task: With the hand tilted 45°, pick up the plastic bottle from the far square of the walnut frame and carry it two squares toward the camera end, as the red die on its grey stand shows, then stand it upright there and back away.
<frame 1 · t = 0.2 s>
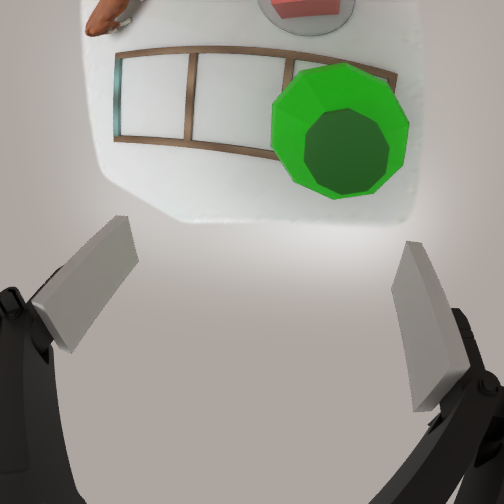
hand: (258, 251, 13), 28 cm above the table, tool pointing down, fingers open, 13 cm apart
bull figurine: (136, 3, 30), on the table
walnut frame: (235, 99, 36), on the table
plastic bottle: (334, 114, 34), resting in walnut frame
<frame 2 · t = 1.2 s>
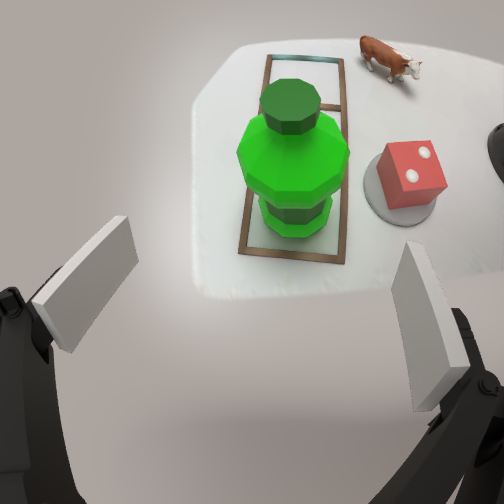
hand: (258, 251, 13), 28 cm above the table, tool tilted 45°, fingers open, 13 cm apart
bull figurine: (385, 75, 46), on the table
red die stand: (399, 188, 41), on the table
walnut frame: (301, 136, 45), on the table
plastic bottle: (295, 211, 43), resting in walnut frame
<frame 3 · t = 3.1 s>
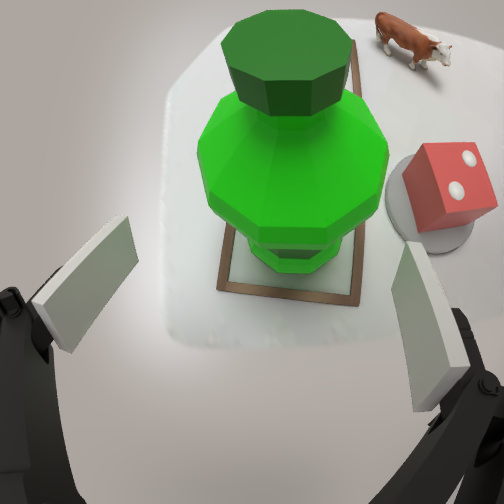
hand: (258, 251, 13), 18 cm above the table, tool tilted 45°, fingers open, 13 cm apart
bull figurine: (406, 62, 35), on the table
red die stand: (430, 203, 30), on the table
walnut frame: (303, 131, 34), on the table
plastic bottle: (295, 233, 32), resting in walnut frame
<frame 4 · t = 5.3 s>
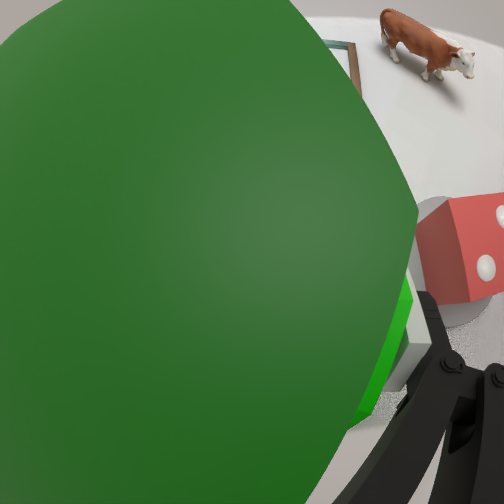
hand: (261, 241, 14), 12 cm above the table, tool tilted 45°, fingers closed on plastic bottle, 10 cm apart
bull figurine: (417, 70, 28), on the table
red die stand: (445, 262, 24), on the table
walnut frame: (288, 168, 28), on the table
plastic bottle: (272, 307, 25), resting in walnut frame, touching gripper
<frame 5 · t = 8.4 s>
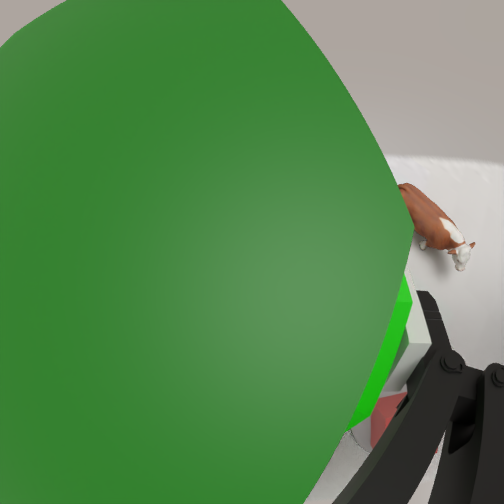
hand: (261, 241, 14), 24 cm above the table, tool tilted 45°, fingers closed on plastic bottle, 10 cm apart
bull figurine: (418, 234, 37), on the table
red die stand: (392, 414, 33), on the table
plastic bottle: (272, 308, 25), point 12 cm above the table, touching gripper
when the fingers open (13 cm above the table, at t = 11.7 s): plastic bottle drops 1 cm, resting in walnut frame.
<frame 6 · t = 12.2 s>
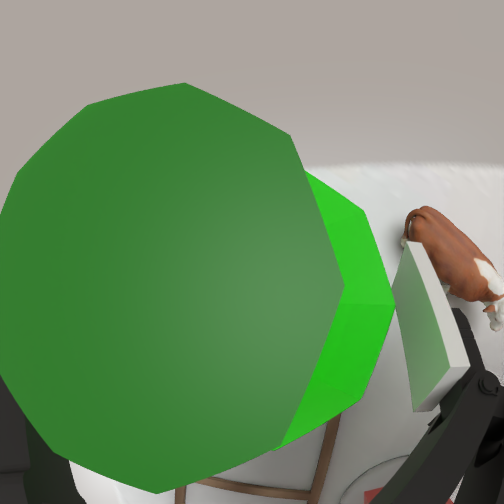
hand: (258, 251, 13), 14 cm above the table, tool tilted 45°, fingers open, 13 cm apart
bull figurine: (437, 275, 25), on the table
red die stand: (391, 498, 20), on the table
walnut frame: (255, 438, 24), on the table
plastic bottle: (273, 309, 27), resting in walnut frame
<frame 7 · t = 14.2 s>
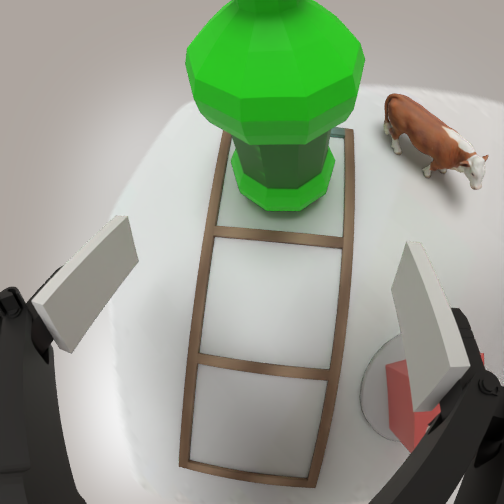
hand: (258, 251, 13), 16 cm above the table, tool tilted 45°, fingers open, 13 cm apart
bull figurine: (419, 162, 30), on the table
red die stand: (413, 385, 25), on the table
walnut frame: (271, 302, 29), on the table
plastic bottle: (284, 180, 31), resting in walnut frame
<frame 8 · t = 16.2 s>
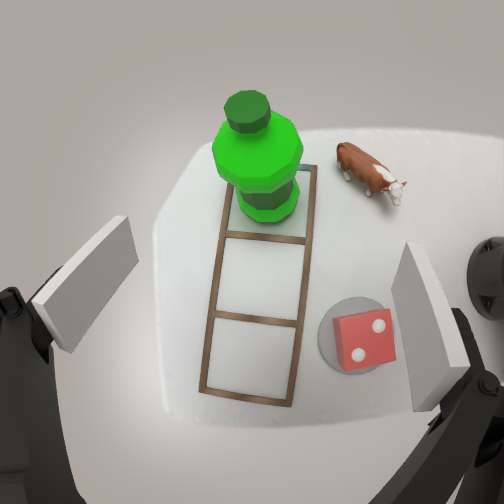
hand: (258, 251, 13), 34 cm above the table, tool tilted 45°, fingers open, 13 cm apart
bull figurine: (364, 185, 48), on the table
red die stand: (355, 335, 43), on the table
walnut frame: (260, 277, 47), on the table
plastic bottle: (269, 201, 50), resting in walnut frame
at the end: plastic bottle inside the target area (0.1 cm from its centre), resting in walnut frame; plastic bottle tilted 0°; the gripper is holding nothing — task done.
